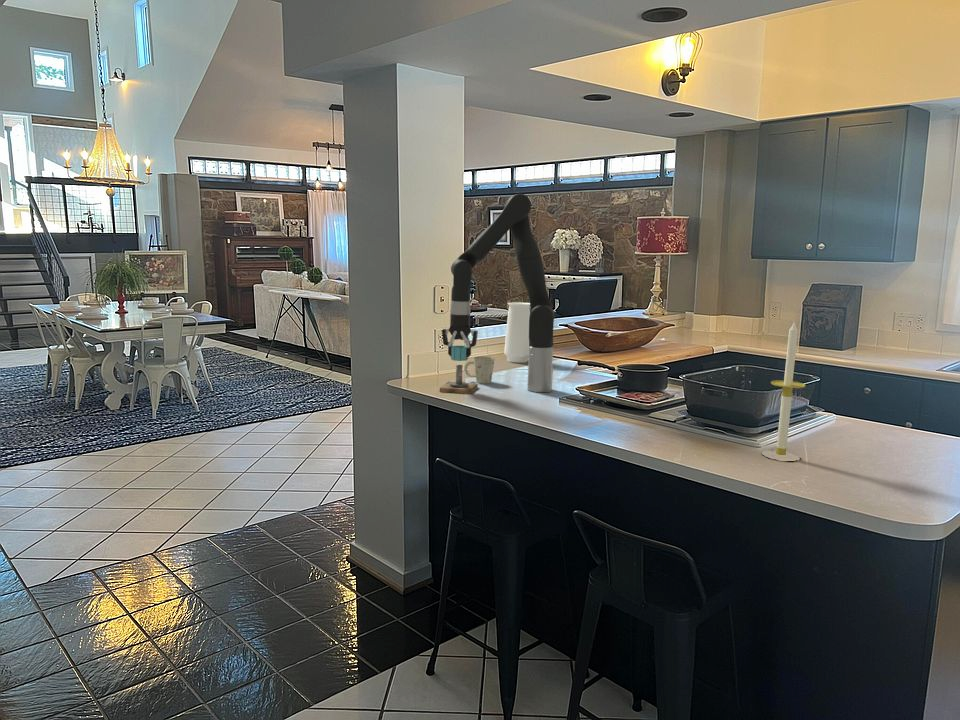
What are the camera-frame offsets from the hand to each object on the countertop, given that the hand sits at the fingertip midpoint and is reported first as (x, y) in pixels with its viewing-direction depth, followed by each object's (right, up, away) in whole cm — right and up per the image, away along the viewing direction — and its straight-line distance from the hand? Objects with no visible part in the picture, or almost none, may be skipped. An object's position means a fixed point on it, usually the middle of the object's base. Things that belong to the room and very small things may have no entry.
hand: (459, 356), depth 257 cm
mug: (+7, -10, +18) cm, 22 cm away
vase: (+26, -2, +69) cm, 74 cm away
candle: (+90, -28, -73) cm, 119 cm away
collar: (0, -1, 0) cm, 1 cm away
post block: (0, -13, +2) cm, 13 cm away
